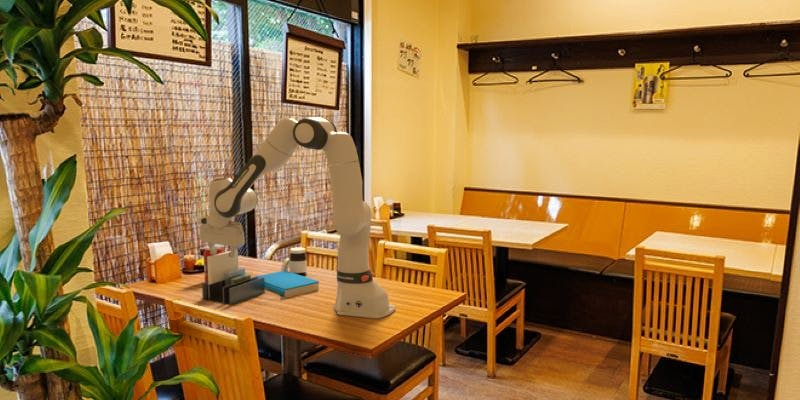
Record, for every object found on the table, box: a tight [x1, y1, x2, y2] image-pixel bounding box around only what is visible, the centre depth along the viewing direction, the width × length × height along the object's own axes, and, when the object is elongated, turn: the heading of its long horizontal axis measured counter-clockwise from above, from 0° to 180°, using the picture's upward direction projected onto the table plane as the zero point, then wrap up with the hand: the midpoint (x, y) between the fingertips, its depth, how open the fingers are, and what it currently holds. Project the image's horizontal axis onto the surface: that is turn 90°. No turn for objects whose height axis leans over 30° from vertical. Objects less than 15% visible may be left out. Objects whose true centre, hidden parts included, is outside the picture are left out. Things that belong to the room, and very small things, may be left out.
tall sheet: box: [207, 249, 239, 285], centre depth 210 cm, size 2×14×16 cm, turn 152°
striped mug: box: [280, 246, 308, 276], centre depth 246 cm, size 12×11×12 cm
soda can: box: [203, 246, 224, 283], centre depth 230 cm, size 8×8×15 cm
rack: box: [201, 267, 266, 306], centre depth 208 cm, size 16×18×10 cm
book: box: [251, 270, 320, 299], centre depth 224 cm, size 17×4×25 cm
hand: (222, 255), depth 209 cm, fingers open, 8 cm apart
